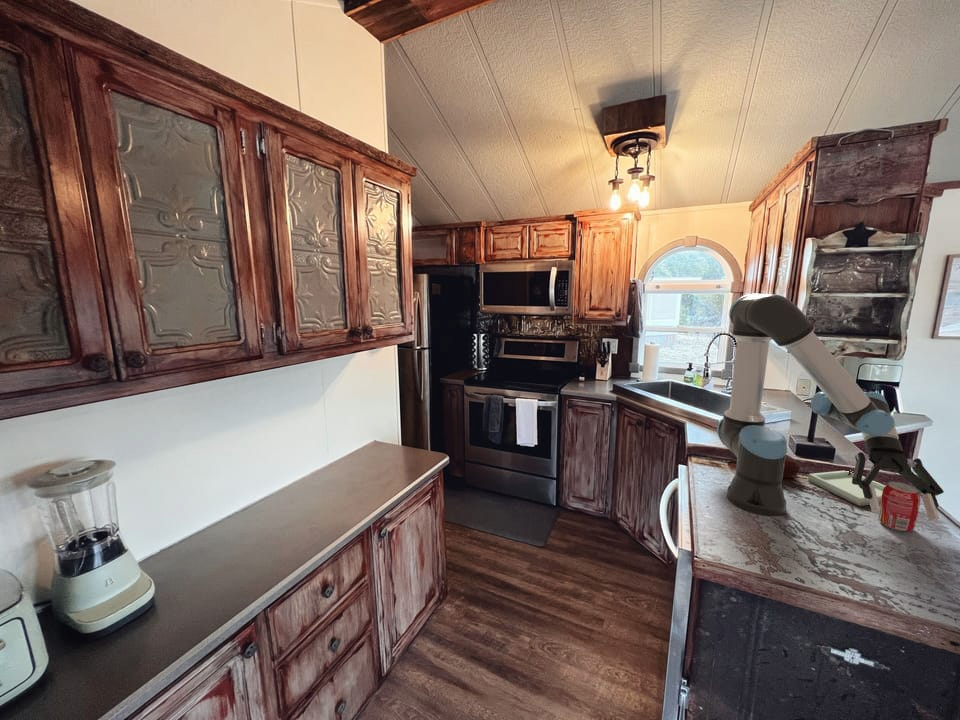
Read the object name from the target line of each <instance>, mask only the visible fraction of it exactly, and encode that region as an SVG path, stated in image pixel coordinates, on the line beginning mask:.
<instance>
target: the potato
mask: <svg viewBox="0 0 960 720" xmlns="http://www.w3.org/2000/svg"><path fill="white" fill-rule="evenodd" d="M800 469H801V467H800V464H799V462H798V461H797V460H796V459H795V458H793V456H790V455H788V454H786V457H785V464H784V471H783V478H791V477H794V476H796V475H797V474H798V472H799V471H800Z"/></svg>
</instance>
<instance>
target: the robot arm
mask: <svg viewBox="0 0 960 720" xmlns="http://www.w3.org/2000/svg"><path fill="white" fill-rule="evenodd" d="M728 316H729V320H730V322H731V323H732V324H733V325H732V333H731V334H732V336H733V338H734V339H736V348H735V358H734V366H733V375H732V383H731V393H730V403H729V408H728V409H727V410H725V411H724V412H723V418H722V419H720V420H719V422H718V423H717V427H716V433H717V436H718V438H719V440H720V442H721V444H723V446H725V448H727V449H728V450H729V451H730V452H731V453H732V454H733V455H734V456H735V457H736V466H735V468H736V469H735V475H734V476H733V478H732V480H731V482H730V484H729V485H728V487H727V490H726V497H727V499H728V501H729V502H730V503H732V504H733V505H734V506H737V507H738V508H740V509H742V510H744V511H748V512H750V513H753V514H757V515H762V516H771V517H773V516H774V517H775V516H781V515H783V514H785V513H786V510H787V500H786V497H785V493H784V490H783V486H782V485H783V484H782V483H783V478H784V477H783V471H784V464H785V457H786V455H787V453H788V442H787V438H786V437H785V436H784V435H783V434H782V433H781V432H779V431H777V430H776V429H774V428H773V429H771V428H770V427H767V426H766V425H765V424H766V417H765V416H764V415H763V414H762V413H761V412H762V411H761V410H762V401H763V394H764V386H765V385H764V384H765V379H766V370H767V363H768V357H769V356H768V354H769V348H770V347H769V346H770V342H771V341H773V342H774V343H776V345H777V346H778V347H781V348H782V347H783V348H785V349H786V350H787V351H788V353H789V354H790V355H791V357H793V359H794V360H795V361H796V362H797V363H798V364H799V366H800V367H801V368H802V369H803V371H804V372H805V373H806V374H807V375H808V377H809V378H811V380H812V381H813V382H814V383H815V384H816V385H817V387H818V388H819V389H820V390H821V391H818V392H816V393H815V394H813V396H812V398H811V401H810V408H811V411H812V412H814V414H817V415H820V416H823V417H831V418H833V419H835V420H837V421H840V422H841V423H843V424H846V425H847V426H850V427H851V428H853V429H854V430H855V429H856V430H857V431H859V432H860V433H861V435H862V438H863V441H864V447H865V450H866V452H867V453H863V452H862V451H859V452H858V453H856V454H855V455H854V458H855V461H856V462H855V466H854V471H853V472H854V474H853V478H852V484H854V485H859V487H860V488H861V489H862V490H863V494H864V497H865V498H867V499H869V503H870V505H869V506H870V509H871V513H876V512H879V510H881V509H880V504H879V502H878V499H877V495H876V492H875V488H874V486H869V485H870V484H871V482H872V481H874V479H875V477H876V476H877V475H878V473H879V472H880V471H881V472H883V471H884V472H888V471H889V472H892V473H897V474H898V475H900V476H902V477H903V478H905V479H906V480H907V481H908V482H909V483H910V485H911V484H912V486H913V487H915V488H917V489H918V491H919V492H920V493H921V494H923V495H920V498H921V501H922V503H923V505H924V506H923V507H924V508H925V509H924V510H925V512H926V515H927V517H928V521H931V522H934V521H936V520H937V521H938V520H940V519H941V518H940V516H939V513H938V510H937V508H939V503H938V499H937V496H939V495H941V494H944V489H943V488H942V487H941V486H940V485H939V483H938V482H937V481H936V480H935V479H934V478H933V476H932V475H931V473H929V471H928V470H927V469H926V467H924V464H923V462H922V460H921V459H920V458H914V459H912V458H907V457H906V456H905V455H904V449H903V446H902V443H901V440H899V434H898V432H897V429H896V426H895V425H896V424H895V422H896V421H895V418H894V417H893V416H892V414H891V411H890V407H889V404H888V402H887V400H886V399H885V398H886V397H884V395H882V393H880V392H876V391H864V390H863V389H862V388H861V387H860V386H859V384H857V382H856V381H855V379H853V377H852V376H851V375H850V374H849V372H847V370H846V369H845V368H844V366H842V364H841V363H840V361H838V359H837V358H836V357H835V356H834V354H832V352H831V351H830V350H829V348H827V346H826V345H825V344H824V343H823V342H822V341H821V339H820V338H819V337H818V336H817V335H816V333H815V329H816V328H815V325H814V324H813V323H812V321H810V320H809V318H808V317H807V316H806V315H805V314H804V312H802V310H801V309H800V307H798V306H797V305H796V304H795V303H794V302H792V301H791V300H790V299H789V298H788V297H785V296H783V295H780V294H777V293H776V294H774V293H769V294H768V293H767V294H766V293H757V292H756V293H749V294H745V295H742V296H740V297H739V298H737V299H736V300H735V301H734V302H733V303H732V304H731V305H730V309H729V313H728ZM866 461H870V462H871V463H872V464H873V465H872V467H871V468H870V470H869V471H868V473H867V474H866V475H865V476H864V477H865V479H864V480H863V481H862V480H861V479H862V476H863V474H864V470H865V466H866ZM907 464H908V465H907ZM912 470H913V471H912Z"/></svg>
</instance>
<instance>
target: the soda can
mask: <svg viewBox="0 0 960 720" xmlns="http://www.w3.org/2000/svg"><path fill="white" fill-rule="evenodd" d="M919 492H920V491H919V490H918V489H917V488H916V487H915V486H914V485H911V484H909V483H908V484H907V483H904V482H901V481H900V482H898V481H887V484H886V485H885V487H884V489H883V493H882V497H881V503H880V504H879V506H880V509H881V510H879V511H878V520H879V522H881V523H882V524H883V525H884V526H886V527H887V528H889V529H892V530H895V531H899V532H910V531H911V532H912V531H914V529H915V526H916V524H917V520H918V514H919V510H920V505H921V500H922V498H921V495H920V494H919Z"/></svg>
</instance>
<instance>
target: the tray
mask: <svg viewBox="0 0 960 720" xmlns="http://www.w3.org/2000/svg"><path fill="white" fill-rule="evenodd" d="M852 472H853V471H852ZM852 472H850V473H851V475H848V474H849V471H845V470H836V471H835V470H834V471H826V472H816V473H815V472H814V473H808V478H807V481H808V482H810V483H812V484H814V485H816V486H818V487H820V488H822V489H825V490H826V491H828V492H830V493H832V494H835V495H837V496H838V497H841V498H843V499H844V500H846V501H848V502H850V503H852V504H855V505H856V506H858V507H861V506H870V503H869V499H867V498H865V497H864V494H863V490H862V489H861V488H860V487H859V485H854V484H852V478H853V474H854V473H852ZM865 477H866V476H863V475H862V479H861V480H862V481H863V480H864V479H865ZM869 486H874V488H875V492H876V495H877V499H878V502H879V505H880V503H881V497H882V493H883V489H884V487H885V486H886V484H882V483H880V482H878V481H875V480H873V481H872V482H871V484H870V485H869Z"/></svg>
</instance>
